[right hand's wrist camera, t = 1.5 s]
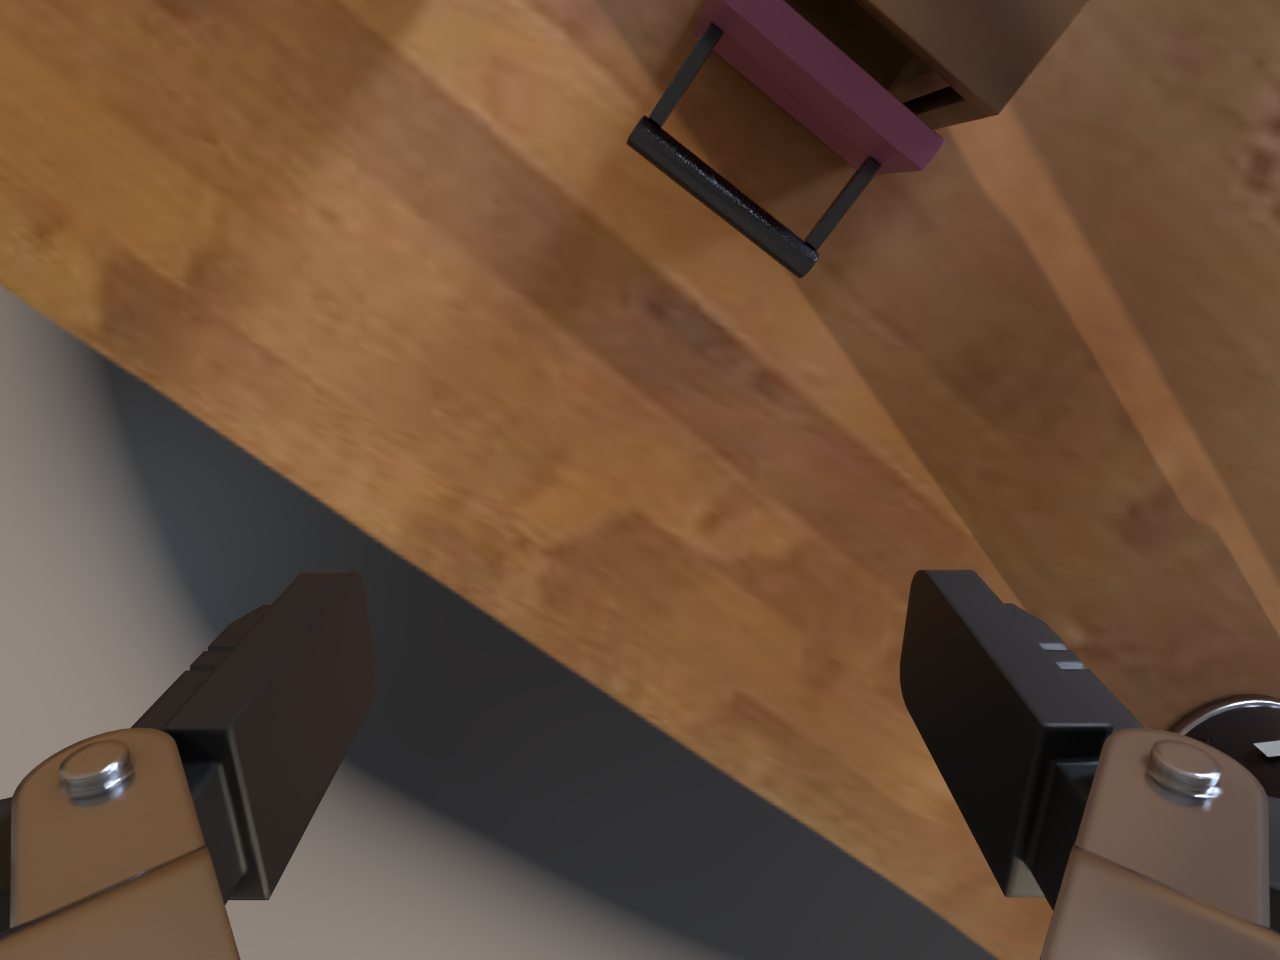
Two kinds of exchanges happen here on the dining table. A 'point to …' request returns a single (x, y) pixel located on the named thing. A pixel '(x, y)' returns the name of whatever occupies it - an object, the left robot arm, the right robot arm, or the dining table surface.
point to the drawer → (803, 106)
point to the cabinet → (974, 48)
